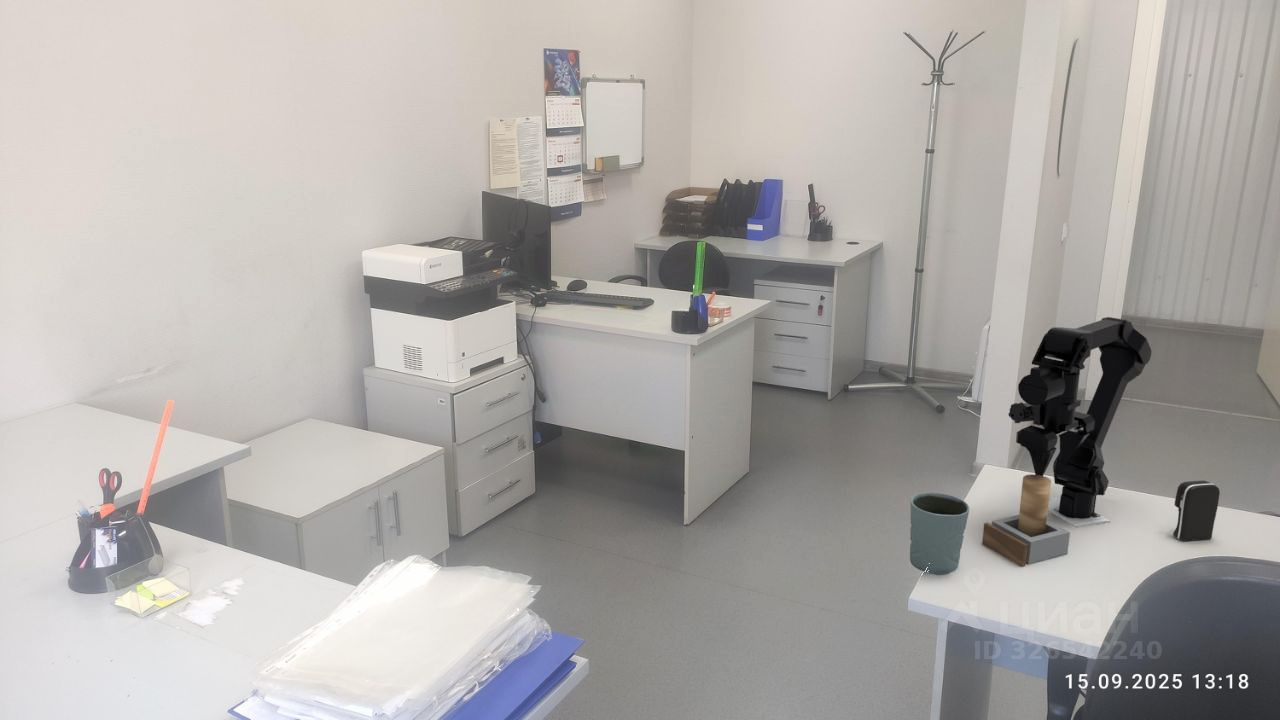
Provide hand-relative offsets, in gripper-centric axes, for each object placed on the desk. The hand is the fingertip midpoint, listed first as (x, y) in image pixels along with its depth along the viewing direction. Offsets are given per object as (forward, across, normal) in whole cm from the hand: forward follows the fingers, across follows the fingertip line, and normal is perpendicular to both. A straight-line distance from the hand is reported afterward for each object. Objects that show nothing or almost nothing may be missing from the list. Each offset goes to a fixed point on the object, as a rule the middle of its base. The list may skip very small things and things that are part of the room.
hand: (1051, 471), depth 172 cm
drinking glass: (+13, +27, -6) cm, 31 cm away
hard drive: (+14, -13, -1) cm, 19 cm away
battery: (+13, -20, +19) cm, 30 cm away
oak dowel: (+12, +9, +2) cm, 15 cm away
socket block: (+13, +9, +2) cm, 16 cm away
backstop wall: (+13, +15, 0) cm, 20 cm away
